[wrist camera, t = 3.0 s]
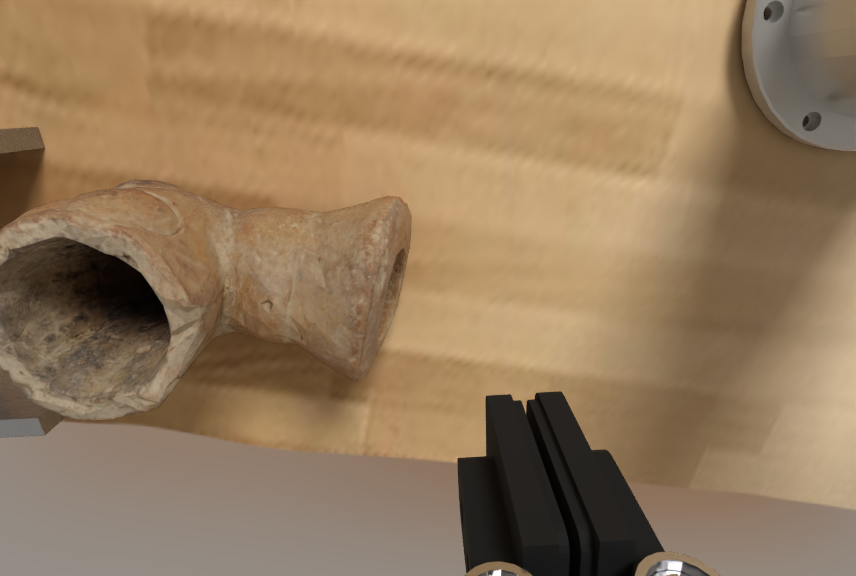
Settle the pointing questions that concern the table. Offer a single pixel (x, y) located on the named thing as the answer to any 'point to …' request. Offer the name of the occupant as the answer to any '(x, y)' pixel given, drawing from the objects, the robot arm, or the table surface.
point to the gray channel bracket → (3, 401)
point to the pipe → (186, 290)
